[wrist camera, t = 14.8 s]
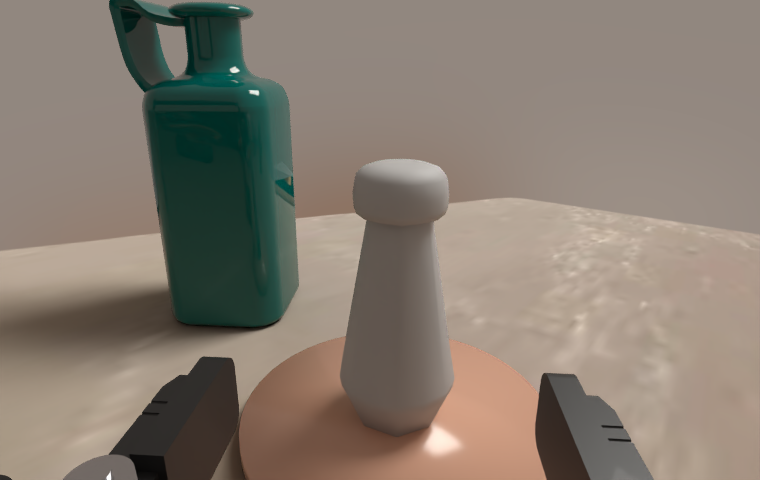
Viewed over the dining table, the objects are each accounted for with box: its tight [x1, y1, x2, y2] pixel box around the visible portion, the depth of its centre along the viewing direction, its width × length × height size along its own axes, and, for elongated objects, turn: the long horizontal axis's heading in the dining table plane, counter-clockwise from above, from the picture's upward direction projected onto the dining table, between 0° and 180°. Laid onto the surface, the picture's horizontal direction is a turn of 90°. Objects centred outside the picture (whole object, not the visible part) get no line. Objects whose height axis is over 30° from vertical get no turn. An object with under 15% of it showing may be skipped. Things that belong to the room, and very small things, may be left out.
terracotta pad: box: [239, 336, 547, 480], centre depth 26 cm, size 16×16×1 cm
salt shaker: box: [340, 159, 454, 437], centre depth 24 cm, size 6×6×13 cm
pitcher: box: [109, 0, 299, 327], centre depth 36 cm, size 10×8×22 cm
